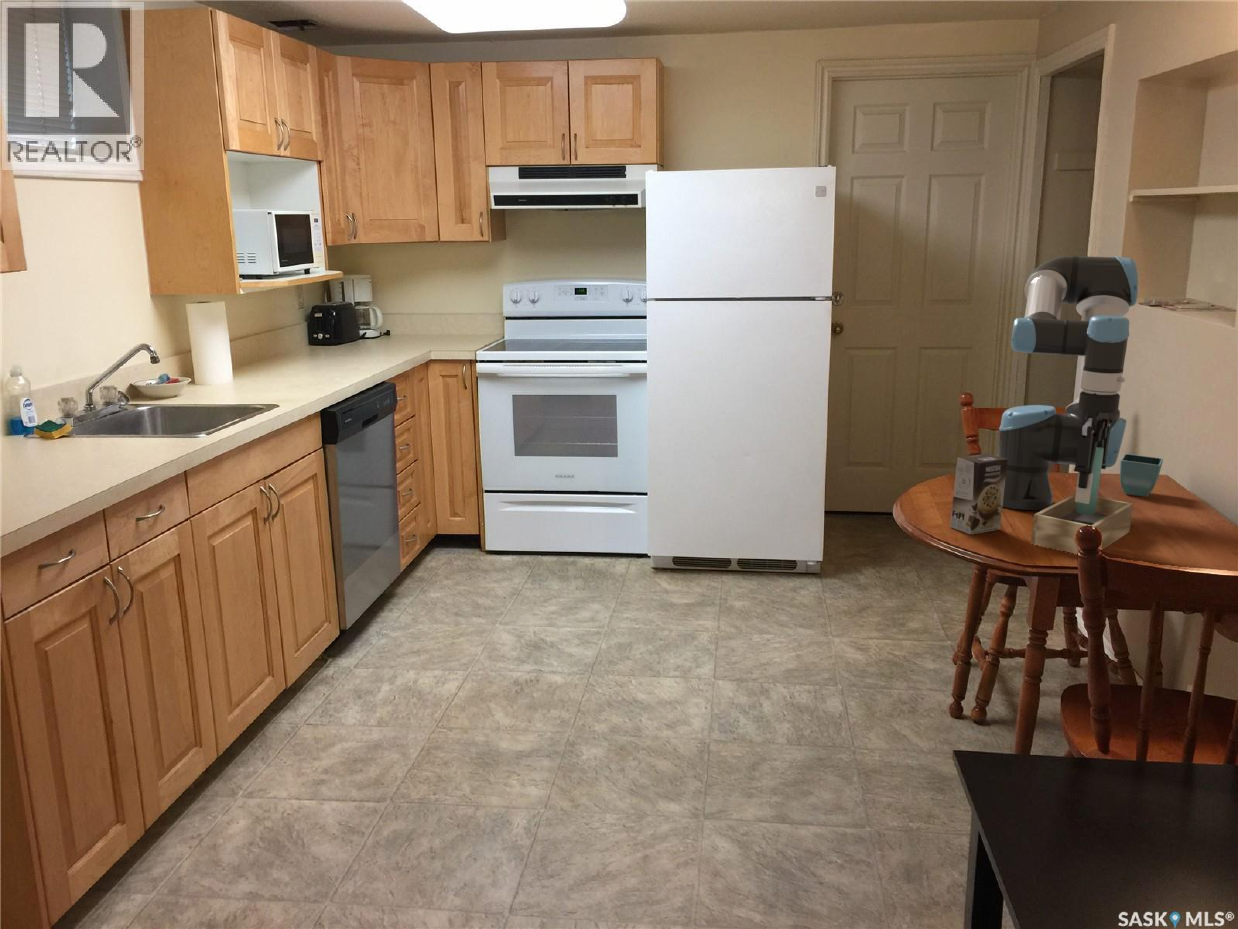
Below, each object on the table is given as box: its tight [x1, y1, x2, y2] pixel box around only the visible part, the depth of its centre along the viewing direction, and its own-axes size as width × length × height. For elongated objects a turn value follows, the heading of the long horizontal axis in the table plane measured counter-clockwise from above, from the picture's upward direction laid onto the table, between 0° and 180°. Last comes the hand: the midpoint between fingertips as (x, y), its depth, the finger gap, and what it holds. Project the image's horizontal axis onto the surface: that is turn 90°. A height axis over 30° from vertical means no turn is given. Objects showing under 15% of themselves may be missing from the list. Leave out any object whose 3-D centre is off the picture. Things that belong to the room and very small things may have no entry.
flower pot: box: [1119, 453, 1164, 498], centre depth 246 cm, size 9×9×9 cm
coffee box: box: [949, 453, 1008, 535], centre depth 215 cm, size 9×6×16 cm
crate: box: [1030, 492, 1134, 556], centre depth 211 cm, size 12×24×6 cm, turn 136°
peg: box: [1075, 447, 1104, 515], centre depth 208 cm, size 4×4×14 cm
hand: (1085, 500), depth 210 cm, fingers closed on peg, 4 cm apart
